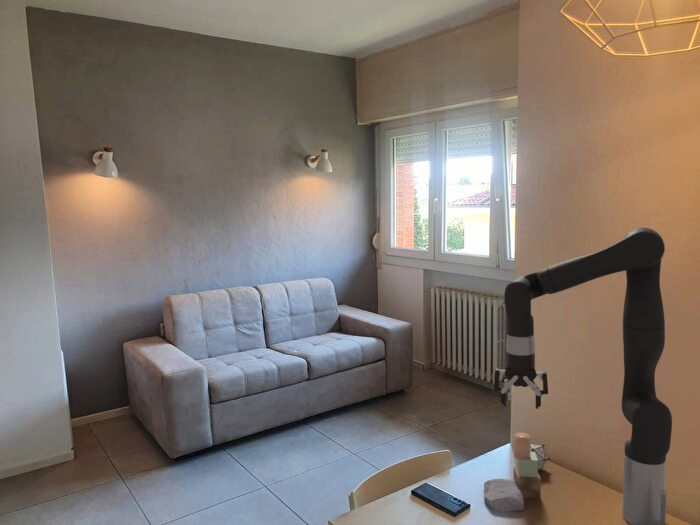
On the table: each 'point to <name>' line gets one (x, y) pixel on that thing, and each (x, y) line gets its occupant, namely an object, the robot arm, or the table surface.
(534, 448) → the white knobbed polyhedron
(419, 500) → the table surface
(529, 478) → the walnut cube
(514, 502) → the stone block
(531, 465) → the sage cube
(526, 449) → the terracotta cylinder
